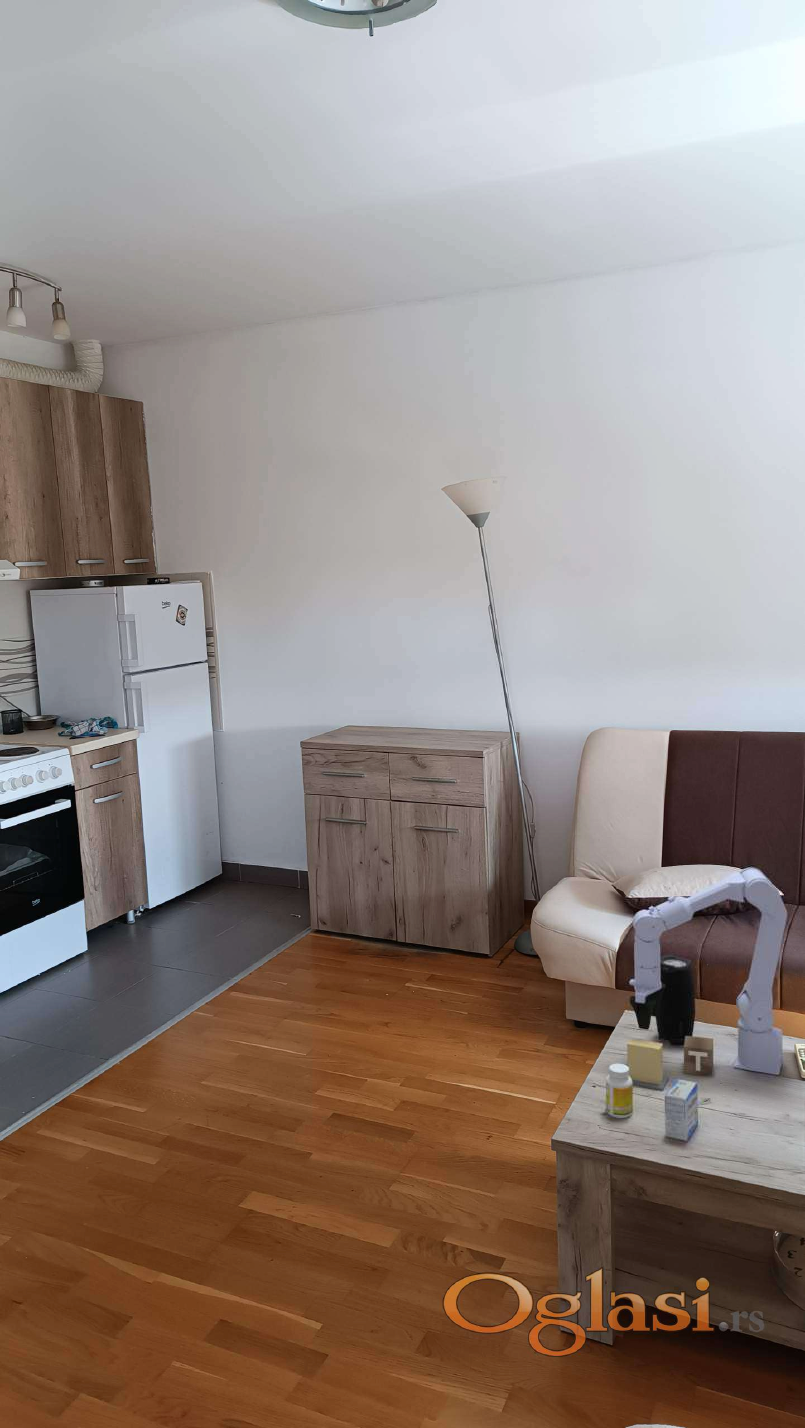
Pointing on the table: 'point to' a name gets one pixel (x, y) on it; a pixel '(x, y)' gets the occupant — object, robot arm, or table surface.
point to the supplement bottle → (619, 1091)
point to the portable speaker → (676, 1000)
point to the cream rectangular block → (645, 1061)
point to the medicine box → (681, 1109)
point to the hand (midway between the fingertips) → (648, 1022)
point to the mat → (651, 1085)
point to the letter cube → (698, 1055)
